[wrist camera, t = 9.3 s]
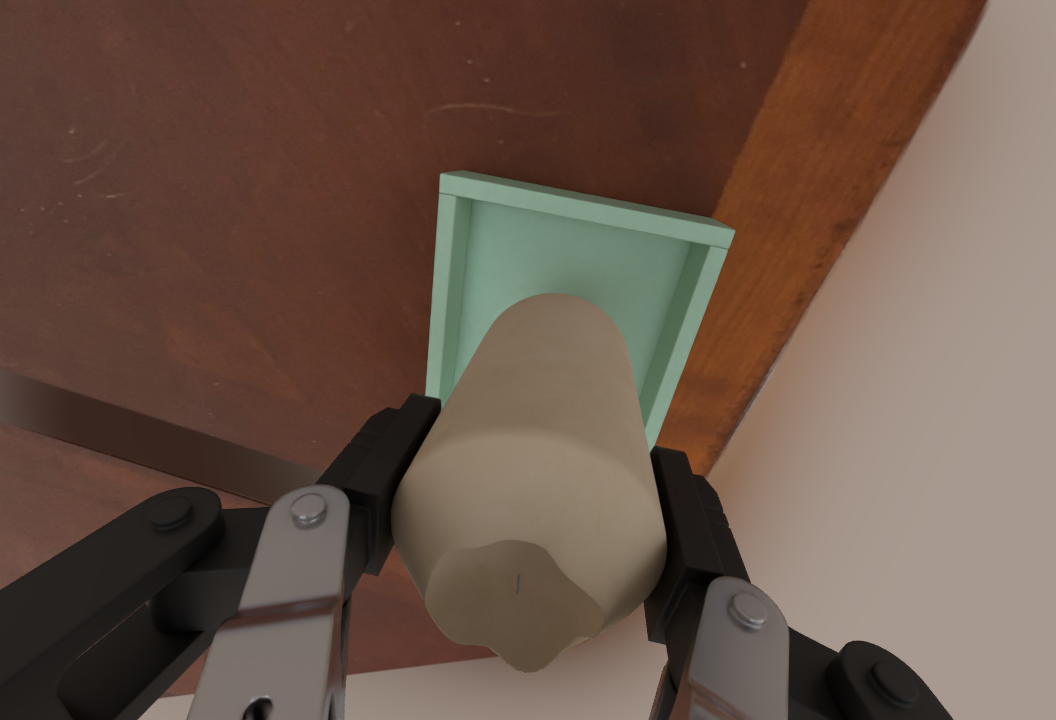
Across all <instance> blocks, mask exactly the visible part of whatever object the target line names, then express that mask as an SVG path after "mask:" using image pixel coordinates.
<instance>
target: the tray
mask: <svg viewBox="0 0 1056 720" xmlns="http://www.w3.org/2000/svg"><path fill="white" fill-rule="evenodd" d="M439 192H440V194H439V202H438V217H437V231H436V246H435V261H434V275H433V290H432V304H431V319H430V334H429V348H428V363H427V378H426V392H425V396H429V397H434V398H439V399H441V410H442V409H443V407H444V405H445V404H446V402H447V400H448V398H449V397H450V395H451V393H452V391H453V390H454V388H455V386H456V384H457V383H458V381H459V379H460V377H461V376H462V374H463V372H464V370H465V369H466V367H467V365H468V363H469V362H470V360H471V358H472V356H473V355H474V353H475V351H476V349H477V348H478V346H479V344H480V343H481V341H482V339H483V337H484V336H485V334H486V333H487V331H488V329H489V328H490V326H491V325H492V323H493V322H494V321H495V320H496V319H497V317H498V316H499V315H500V314H501V313H503V312H504V311H505V310H506V309H507V308H509V307H510V306H512V305H513V304H515V303H517V302H518V301H521V300H523V299H525V298H528V297H531V296H534V295H539V294H546V293H559V294H567V295H572V296H576V297H579V298H582V299H584V300H586V301H588V302H590V303H592V304H594V305H596V306H597V307H598V308H600V309H601V310H603V311H604V312H605V313H606V314H607V315H608V316H609V317H610V318H611V319H612V320H613V322H614V323H615V324H616V325H617V327H618V329H619V330H620V332H621V333H622V335H623V338H624V340H625V342H626V345H627V349H628V353H629V356H630V360H631V365H632V370H633V375H634V380H635V384H636V389H637V394H638V399H639V404H640V409H641V414H642V419H643V424H644V428H645V433H646V438H647V443H648V448H649V453H650V452H651V450H652V448H653V447H654V445H655V442H656V439H657V437H658V434H659V432H660V429H661V426H662V424H663V421H664V418H665V416H666V413H667V410H668V408H669V405H670V402H671V400H672V397H673V395H674V392H675V389H676V387H677V384H678V381H679V379H680V376H681V373H682V371H683V368H684V366H685V363H686V360H687V358H688V355H689V352H690V350H691V347H692V344H693V342H694V339H695V336H696V334H697V331H698V329H699V326H700V323H701V321H702V318H703V315H704V313H705V310H706V307H707V305H708V302H709V299H710V297H711V294H712V292H713V289H714V286H715V284H716V281H717V278H718V276H719V273H720V270H721V268H722V265H723V263H724V260H725V257H726V255H727V252H728V248H729V247H730V244H731V242H732V239H733V236H734V234H735V230H734V229H732V228H730V227H729V226H727V225H725V224H723V223H721V222H719V221H717V220H715V219H713V218H709V217H704V216H698V215H693V214H688V213H683V212H678V211H673V210H667V209H662V208H657V207H652V206H647V205H641V204H636V203H631V202H626V201H621V200H615V199H610V198H605V197H600V196H595V195H589V194H584V193H579V192H574V191H569V190H563V189H558V188H553V187H548V186H543V185H537V184H532V183H527V182H522V181H517V180H511V179H506V178H501V177H496V176H491V175H486V174H480V173H475V172H470V171H465V170H462V171H453V172H446V173H441V174H440V184H439Z"/></svg>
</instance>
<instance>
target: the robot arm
mask: <svg viewBox="0 0 1056 720" xmlns="http://www.w3.org/2000/svg"><path fill="white" fill-rule="evenodd" d="M440 412H441V399H439V398H434V397H429V396H425V395H420V394H415V393H412V394H411V395H410V396H409V397H408V399H407V400H406V401H405V403H404V404H403V405H402V407H401V408H400V409H399V410H398V409H394V408H389V407H387V408H386V409H384V410H382V411H380V412H378V413H377V414H375V415H373V416H371V417H370V418H369V420H368V421H367V422H366V423H365V424H364V426H363V427H362V428H361V429H360V432H358V433H357V434H356V435H355V436H354V438H353V439H352V440H351V443H349V444H348V445H347V446H346V447H345V448H344V450H343V451H342V452H341V453H340V454H339V456H338V457H337V458H336V459H335V460H334V462H333V463H332V464H331V465H330V466H329V468H328V469H327V470H326V471H325V472H324V474H323V475H322V476H321V477H320V478H319V480H318V481H317V482H316V483H315V484H314V485H307V486H303V487H300V488H297V489H294V490H292V491H290V492H288V493H286V494H285V495H283V496H282V497H280V498H279V499H278V500H277V501H276V502H275V503H274V504H273V505H272V506H271V507H262V508H240V509H222V506H221V501H220V498H219V496H218V495H217V494H216V493H215V492H213V491H211V490H209V489H206V488H201V487H183V488H177V489H173V490H169V491H165V492H162V493H160V494H157V495H155V496H153V497H150V498H149V499H147V500H145V501H143V502H141V503H140V504H138V505H137V506H135V507H133V508H132V509H130V510H129V511H127V512H125V513H124V514H122V515H120V516H119V517H117V518H116V519H114V520H112V521H111V522H109V523H108V524H106V525H104V526H103V527H101V528H100V529H98V530H96V531H95V532H93V533H91V534H90V535H88V536H87V537H85V538H83V539H82V540H80V541H79V542H77V543H75V544H74V545H72V546H70V547H69V548H67V549H66V550H64V551H62V552H61V553H59V554H58V555H56V556H54V557H53V558H51V559H50V560H48V561H46V562H45V563H43V564H41V565H40V566H38V567H37V568H35V569H33V570H32V571H30V572H29V573H27V574H25V575H24V576H22V577H20V578H19V579H17V580H16V581H14V582H12V583H11V584H9V585H8V586H6V587H4V588H3V589H1V590H0V720H137V719H139V718H140V716H142V714H144V713H145V712H146V710H147V709H148V708H149V707H150V706H151V705H152V704H153V703H154V702H155V701H156V700H157V699H158V698H159V697H160V696H161V695H162V694H163V693H164V692H165V691H166V690H167V689H168V688H169V687H170V686H171V685H172V684H173V683H174V682H175V681H176V680H177V679H178V678H179V677H180V676H181V675H182V674H183V673H184V672H185V671H186V670H187V669H188V668H189V667H190V666H191V665H192V664H193V663H194V662H195V661H196V660H197V659H198V657H199V656H200V655H201V654H202V653H203V652H204V651H205V650H206V649H207V648H208V647H209V646H210V645H211V644H212V645H211V648H210V651H209V654H208V657H207V660H206V663H205V666H204V669H203V672H202V675H201V678H200V681H199V684H198V687H197V690H196V693H195V695H194V698H193V701H192V704H191V707H190V710H189V713H188V716H187V719H186V720H344V706H345V687H346V674H347V661H348V648H349V635H350V622H351V610H352V592H353V590H354V588H355V586H356V584H357V583H358V581H359V579H360V577H361V575H362V573H367V574H371V575H375V576H378V575H379V573H380V571H381V569H382V567H383V565H384V563H385V561H386V559H387V557H388V555H389V553H390V551H391V549H392V547H393V545H394V540H393V536H392V531H391V507H392V503H393V498H394V495H395V493H396V491H397V488H398V486H399V484H400V482H401V480H402V479H403V477H404V475H405V473H406V472H407V470H408V468H409V466H410V465H411V463H412V461H413V459H414V458H415V456H416V454H417V452H418V451H419V449H420V447H421V445H422V444H423V442H424V440H425V438H426V437H427V435H428V433H429V431H430V430H431V428H432V426H433V424H434V423H435V421H436V419H437V417H438V416H439V414H440ZM650 458H651V463H652V467H653V472H654V477H655V482H656V487H657V492H658V497H659V502H660V507H661V512H662V516H663V521H664V526H665V532H666V539H667V557H666V563H665V567H664V570H663V573H662V575H661V577H660V579H659V581H658V584H657V586H656V587H655V589H654V590H653V591H652V593H651V594H650V595H649V597H648V598H647V599H646V600H644V609H645V617H646V625H647V633H648V640H649V641H652V642H656V643H660V644H665V645H666V647H667V654H668V661H667V663H666V665H665V666H664V669H663V671H662V674H661V678H660V682H659V685H658V688H657V692H656V696H655V699H654V703H653V706H652V710H651V714H650V717H649V720H953V719H952V717H951V716H950V714H949V713H948V712H947V711H946V709H945V708H944V707H943V705H942V704H941V703H940V702H939V701H938V699H937V698H936V696H935V695H934V694H933V692H932V691H931V690H930V689H929V687H928V686H927V685H926V684H925V683H924V681H923V680H922V679H921V678H920V677H919V676H918V675H917V674H916V673H915V672H914V671H913V670H912V669H911V668H910V667H909V666H908V665H906V664H905V663H904V662H903V661H901V660H900V659H899V658H898V657H896V656H895V655H893V654H892V653H890V652H889V651H887V650H885V649H883V648H881V647H879V646H877V645H875V644H872V643H869V642H865V641H851V642H849V643H847V644H846V645H845V646H844V647H843V648H842V649H841V650H840V652H839V653H838V652H836V651H834V650H832V649H830V648H828V647H826V646H824V645H822V644H820V643H818V642H816V641H814V640H812V639H810V638H808V637H807V636H804V635H803V634H801V633H799V632H797V631H795V630H793V629H792V628H790V627H789V626H788V625H787V622H786V620H785V617H784V616H783V614H782V612H781V611H780V609H779V608H778V606H777V605H776V604H775V603H774V602H773V600H772V599H771V598H770V597H769V596H768V595H767V594H765V593H764V592H763V591H762V590H760V589H759V588H758V587H756V586H754V585H753V584H751V582H750V579H749V577H748V574H747V571H746V569H745V566H744V563H743V561H742V558H741V556H740V553H739V550H738V547H737V545H736V542H735V539H734V537H733V534H732V532H731V529H730V528H729V527H728V526H729V524H728V521H727V518H726V516H725V514H724V513H723V508H722V505H721V502H720V500H719V497H718V495H717V493H716V491H715V490H714V489H713V488H712V486H711V485H710V484H709V483H708V482H707V480H706V479H705V478H704V477H703V476H700V475H695V474H693V473H692V470H691V467H690V464H689V461H688V458H687V455H686V453H685V452H683V451H678V450H673V449H669V448H664V447H659V446H654V447H653V448H652V450H651V452H650ZM144 603H145V604H144ZM143 604H144V605H143ZM142 605H143V606H142ZM140 606H141V607H140ZM139 607H140V608H139ZM138 608H139V609H138ZM137 609H138V610H137ZM135 610H137V611H135ZM134 611H135V612H134ZM133 612H134V613H133ZM132 613H133V614H132ZM131 614H132V615H131ZM129 615H130V616H129ZM128 616H129V617H128ZM127 617H128V618H127ZM126 618H127V619H126ZM124 619H125V620H124ZM123 620H124V621H123ZM122 621H123V622H122ZM121 622H122V623H121ZM119 623H121V624H119ZM118 624H119V625H118ZM117 625H118V626H117ZM116 626H117V627H116ZM115 627H116V628H115ZM113 628H114V629H113ZM112 629H113V630H112ZM111 630H112V631H111ZM110 631H111V632H110ZM108 632H110V633H108ZM107 633H108V634H107ZM106 634H107V635H106ZM105 635H106V636H105ZM103 636H105V637H103ZM102 637H103V638H102ZM101 638H102V639H101ZM100 639H101V640H100ZM99 640H100V641H99ZM97 641H98V642H97ZM96 642H97V643H96ZM95 643H96V644H95ZM94 644H95V645H94ZM92 645H94V646H92ZM91 646H92V647H91ZM90 647H91V648H90ZM89 648H90V649H89ZM87 649H89V650H87ZM86 650H87V651H86ZM85 651H86V652H85ZM84 652H85V653H84ZM83 653H84V654H83ZM81 654H83V655H81ZM80 655H81V656H80ZM79 656H80V657H79ZM78 657H79V658H78ZM77 658H78V659H77Z"/></svg>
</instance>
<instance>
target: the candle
mask: <svg viewBox="0 0 1056 720" xmlns="http://www.w3.org/2000/svg"><path fill="white" fill-rule="evenodd" d="M391 531H392V536H393V540H394V543H395V547H396V549H397V551H398V553H399V555H400V558H401V560H402V562H403V564H404V566H405V568H406V570H407V572H408V574H409V576H410V577H411V579H412V581H413V583H414V585H415V586H416V588H417V590H418V592H419V593H420V595H421V597H422V599H423V602H424V605H425V607H426V608H427V610H428V612H429V614H430V616H431V617H432V619H433V621H434V622H435V624H436V625H437V627H438V628H439V629H440V630H441V631H442V633H443V634H444V635H445V636H446V637H448V638H449V639H450V640H452V641H453V642H456V643H458V644H461V645H480V646H487V647H488V648H490V649H491V650H492V651H494V652H495V653H496V654H498V655H499V656H500V657H501V658H502V659H503V660H504V661H505V662H506V663H507V664H508V665H510V666H511V667H513V668H514V669H516V670H519V671H522V672H525V673H526V672H537V671H539V670H541V669H544V668H545V667H547V666H548V665H549V664H550V663H551V662H552V661H553V660H554V659H556V657H558V656H559V655H560V654H561V653H563V652H564V651H566V650H567V649H569V648H571V647H573V646H575V645H577V644H579V643H581V642H583V641H585V640H587V639H589V638H593V637H595V636H597V635H599V634H601V633H603V632H604V631H606V630H608V629H610V628H611V627H613V626H614V625H616V624H617V623H619V622H620V621H621V620H623V619H624V618H625V617H627V616H628V615H630V614H631V613H632V612H633V611H634V610H635V609H636V608H637V607H638V606H639V605H640V604H641V603H642V602H643V601H644V600H646V599H647V598H648V597H649V595H650V594H651V593H652V591H653V590H654V589H655V587H656V586H657V584H658V581H659V579H660V577H661V575H662V573H663V570H664V567H665V563H666V557H667V539H666V532H665V526H664V521H663V516H662V512H661V507H660V502H659V497H658V492H657V487H656V482H655V477H654V472H653V467H652V463H651V458H650V453H649V448H648V443H647V438H646V433H645V428H644V424H643V419H642V414H641V409H640V404H639V399H638V394H637V389H636V384H635V380H634V375H633V370H632V365H631V360H630V356H629V353H628V349H627V345H626V342H625V340H624V338H623V335H622V333H621V332H620V330H619V329H618V327H617V325H616V324H615V323H614V322H613V320H612V319H611V318H610V317H609V316H608V315H607V314H606V313H605V312H604V311H603V310H601V309H600V308H598V307H597V306H596V305H594V304H592V303H590V302H588V301H586V300H584V299H582V298H579V297H576V296H572V295H567V294H559V293H546V294H539V295H534V296H531V297H528V298H525V299H523V300H521V301H518V302H517V303H515V304H513V305H512V306H510V307H509V308H507V309H506V310H505V311H504V312H503V313H501V314H500V315H499V316H498V317H497V319H496V320H495V321H494V322H493V323H492V325H491V326H490V328H489V329H488V331H487V333H486V334H485V336H484V337H483V339H482V341H481V343H480V344H479V346H478V348H477V349H476V351H475V353H474V355H473V356H472V358H471V360H470V362H469V363H468V365H467V367H466V369H465V370H464V372H463V374H462V376H461V377H460V379H459V381H458V383H457V384H456V386H455V388H454V390H453V391H452V393H451V395H450V397H449V398H448V400H447V402H446V404H445V405H444V407H443V409H442V410H441V412H440V414H439V416H438V417H437V419H436V421H435V423H434V424H433V426H432V428H431V430H430V431H429V433H428V435H427V437H426V438H425V440H424V442H423V444H422V445H421V447H420V449H419V451H418V452H417V454H416V456H415V458H414V459H413V461H412V463H411V465H410V466H409V468H408V470H407V472H406V473H405V475H404V477H403V479H402V480H401V482H400V484H399V486H398V488H397V491H396V493H395V495H394V498H393V503H392V507H391Z"/></svg>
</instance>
